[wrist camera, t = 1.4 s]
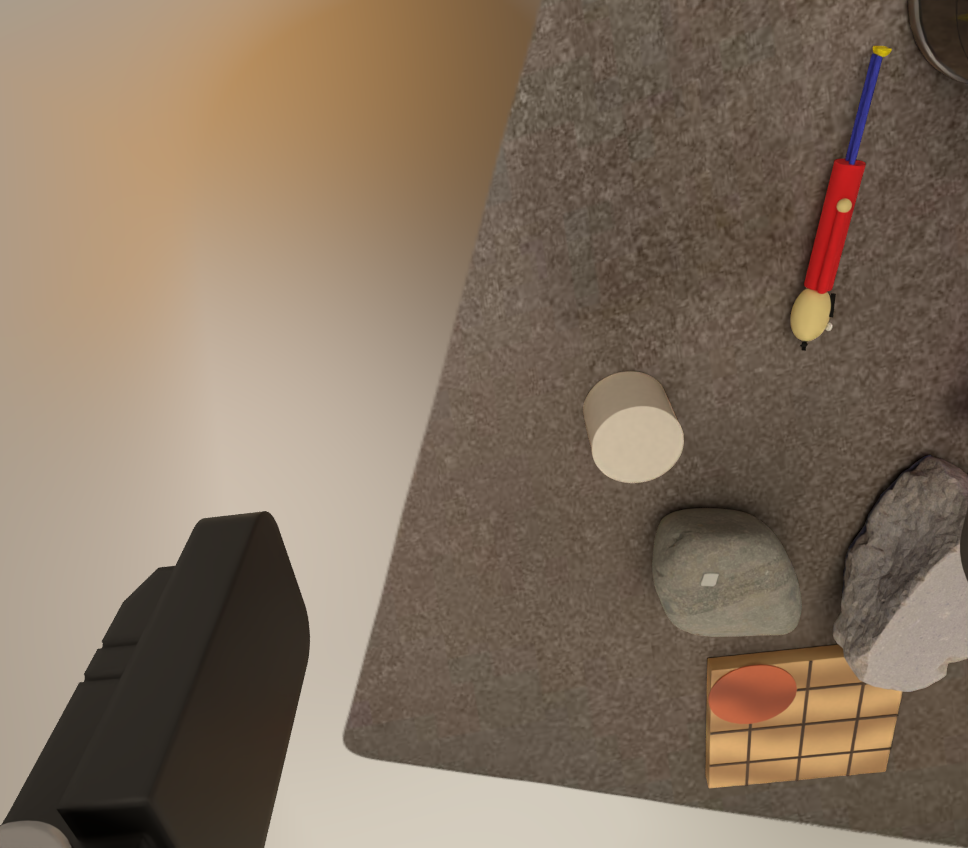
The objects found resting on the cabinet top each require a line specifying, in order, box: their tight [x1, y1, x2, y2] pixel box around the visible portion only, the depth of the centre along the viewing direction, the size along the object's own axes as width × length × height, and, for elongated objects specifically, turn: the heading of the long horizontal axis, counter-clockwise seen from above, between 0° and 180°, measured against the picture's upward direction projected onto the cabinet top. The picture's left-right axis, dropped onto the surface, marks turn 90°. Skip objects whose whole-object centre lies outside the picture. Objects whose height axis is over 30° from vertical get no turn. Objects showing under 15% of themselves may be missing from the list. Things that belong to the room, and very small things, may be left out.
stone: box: [652, 508, 802, 637], centre depth 49 cm, size 9×9×10 cm
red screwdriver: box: [659, 46, 892, 350], centre depth 38 cm, size 3×2×15 cm
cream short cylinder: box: [583, 371, 684, 483], centre depth 44 cm, size 5×5×4 cm
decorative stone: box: [833, 455, 968, 692], centre depth 48 cm, size 15×7×10 cm
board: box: [705, 644, 902, 788], centre depth 59 cm, size 14×14×1 cm
